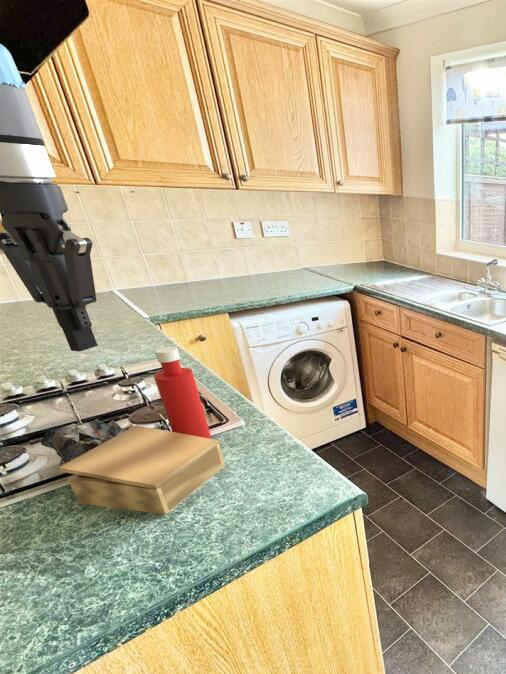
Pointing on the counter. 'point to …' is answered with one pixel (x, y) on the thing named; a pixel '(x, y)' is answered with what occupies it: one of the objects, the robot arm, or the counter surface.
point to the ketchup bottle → (180, 395)
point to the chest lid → (141, 457)
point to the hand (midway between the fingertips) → (84, 348)
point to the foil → (81, 437)
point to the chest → (147, 498)
